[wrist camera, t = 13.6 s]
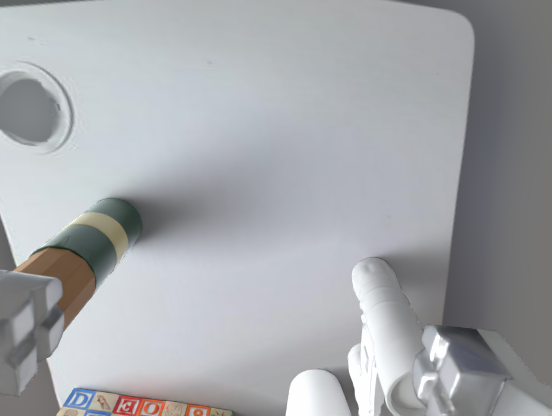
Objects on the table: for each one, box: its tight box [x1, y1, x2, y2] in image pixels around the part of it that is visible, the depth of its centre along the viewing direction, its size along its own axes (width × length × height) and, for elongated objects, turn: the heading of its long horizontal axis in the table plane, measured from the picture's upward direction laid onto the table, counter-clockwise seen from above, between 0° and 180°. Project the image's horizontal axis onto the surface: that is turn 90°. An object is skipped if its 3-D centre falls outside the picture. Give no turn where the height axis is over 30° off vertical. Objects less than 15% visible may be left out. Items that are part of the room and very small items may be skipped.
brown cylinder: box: [12, 248, 95, 332], centre depth 31 cm, size 6×6×6 cm
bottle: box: [28, 198, 142, 301], centre depth 37 cm, size 6×6×17 cm
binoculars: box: [348, 257, 427, 416], centre depth 41 cm, size 17×6×18 cm, turn 1°
